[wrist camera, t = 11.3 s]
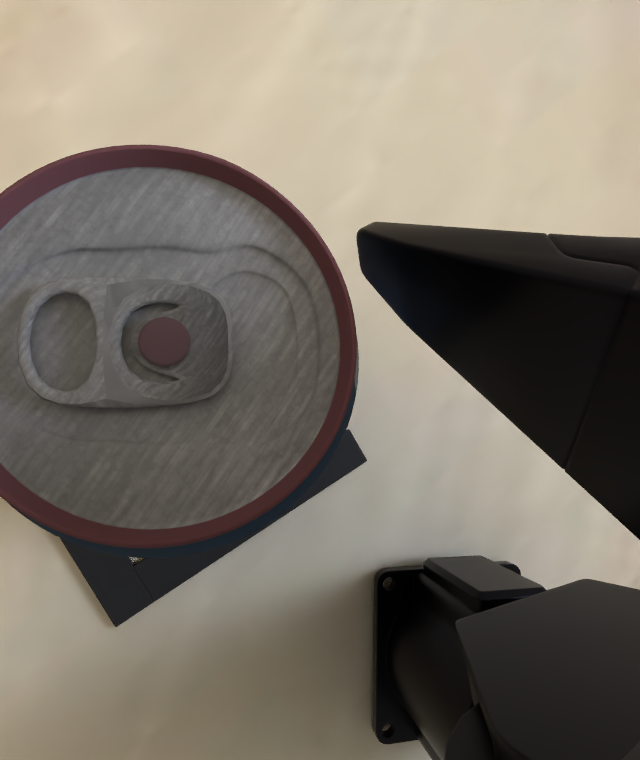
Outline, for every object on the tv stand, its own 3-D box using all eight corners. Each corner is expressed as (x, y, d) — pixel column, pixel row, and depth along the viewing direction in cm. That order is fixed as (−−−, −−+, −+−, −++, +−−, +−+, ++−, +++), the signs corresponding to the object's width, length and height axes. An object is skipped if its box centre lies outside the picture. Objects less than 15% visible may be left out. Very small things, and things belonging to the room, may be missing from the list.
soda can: (276, 303, 19) (386, 130, 8) (280, 476, 19) (405, 568, 7) (91, 298, 18) (-124, 67, 6) (89, 487, 17) (-148, 631, 6)
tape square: (217, 203, 19) (217, 201, 19) (365, 460, 20) (367, 460, 20) (-66, 333, 16) (-69, 332, 16) (116, 625, 17) (115, 627, 17)
